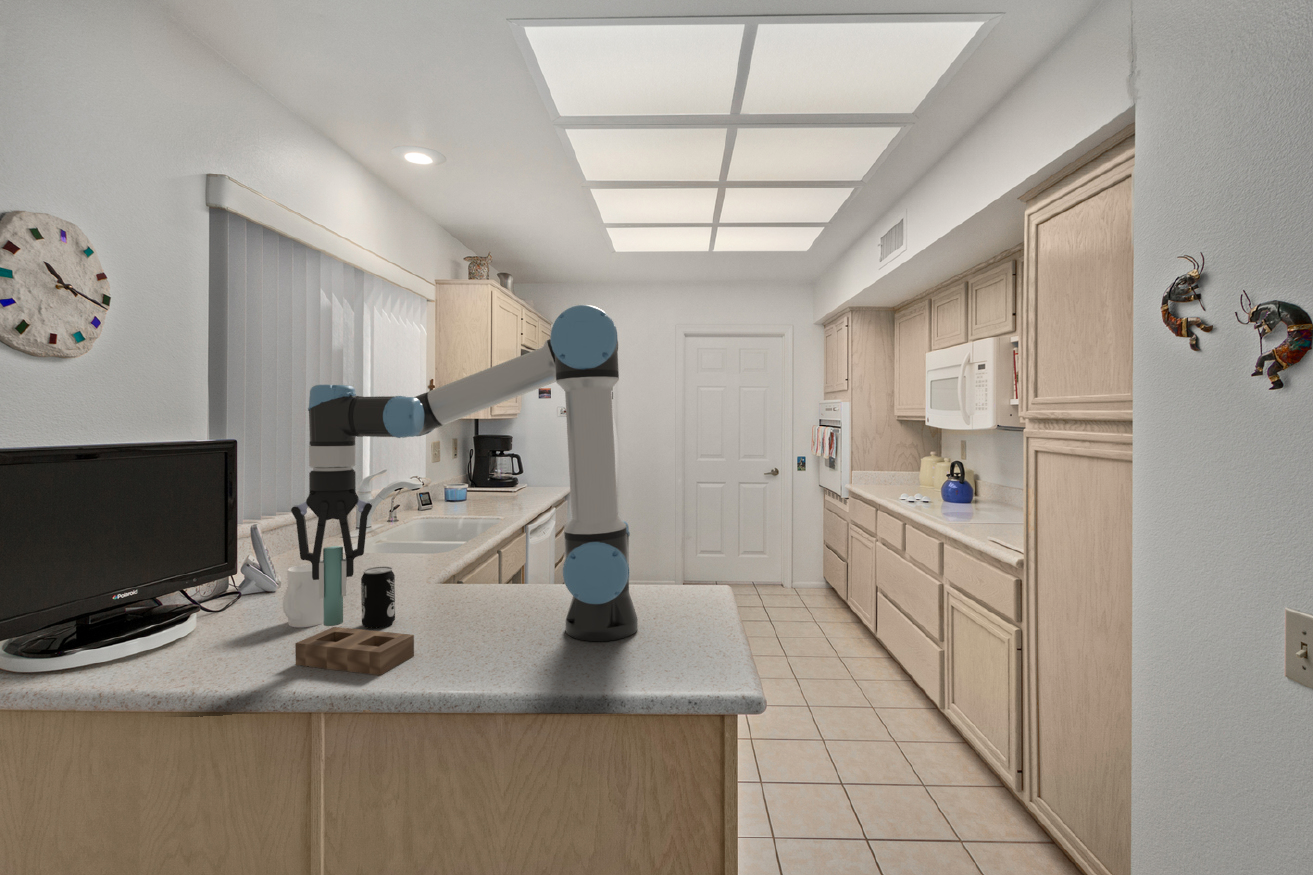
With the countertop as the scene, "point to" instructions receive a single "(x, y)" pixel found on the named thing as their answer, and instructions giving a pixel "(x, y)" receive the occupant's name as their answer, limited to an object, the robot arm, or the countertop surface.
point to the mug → (303, 598)
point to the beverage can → (378, 597)
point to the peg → (333, 585)
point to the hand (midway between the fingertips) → (333, 595)
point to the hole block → (355, 650)
